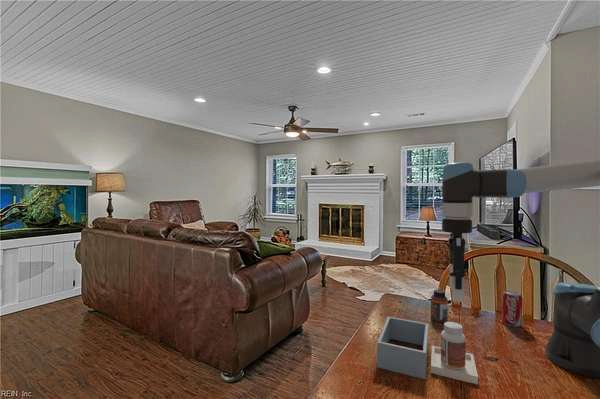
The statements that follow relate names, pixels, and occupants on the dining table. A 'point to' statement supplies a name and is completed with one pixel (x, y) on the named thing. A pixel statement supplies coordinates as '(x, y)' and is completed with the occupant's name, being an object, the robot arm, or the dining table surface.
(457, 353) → the pill bottle
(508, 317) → the soda can
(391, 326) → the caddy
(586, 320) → the robot arm
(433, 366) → the tray
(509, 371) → the dining table surface
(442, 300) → the supplement bottle
